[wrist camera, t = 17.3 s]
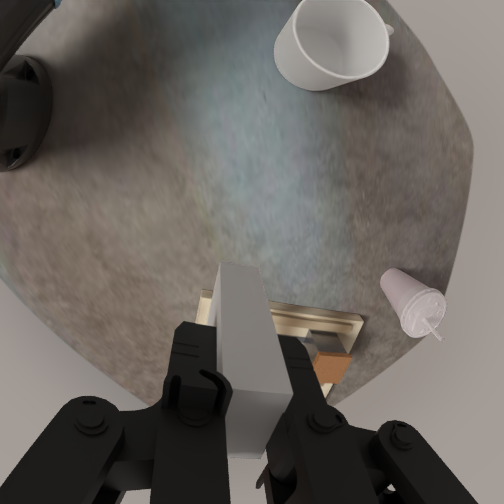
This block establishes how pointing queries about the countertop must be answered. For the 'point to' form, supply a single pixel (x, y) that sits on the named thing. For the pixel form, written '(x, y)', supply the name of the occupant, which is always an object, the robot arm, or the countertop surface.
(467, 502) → the robot arm
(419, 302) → the smoothie
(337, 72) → the mug
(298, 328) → the beige flat board
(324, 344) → the block
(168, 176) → the countertop surface
